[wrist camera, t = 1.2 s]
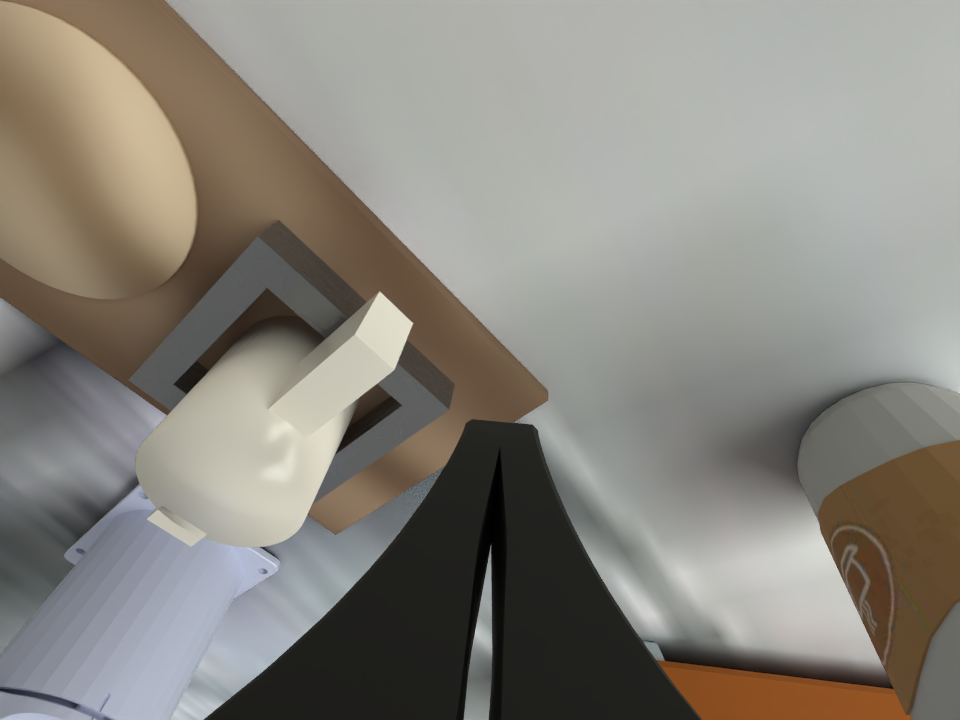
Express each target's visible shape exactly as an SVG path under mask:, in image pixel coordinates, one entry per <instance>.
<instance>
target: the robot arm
mask: <svg viewBox="0 0 960 720" xmlns="http://www.w3.org/2000/svg"><path fill="white" fill-rule="evenodd" d="M155 508H156V507H155V506H154V505H153V503H152V502H151V501H150V500H149V499H148V497H147V496H146V494H145V493H144V491H143V489H142V487H141V485H140V484H138V485H137V486H136V487H135V488H134V489H133V490H132V491H131V492H130V493H129V494H128V495H127V496H125V497H124V498H123V499H122V500H121V501H120V502H119V503H118V504H117V505H116V506H115V507H113V508H112V509H111V510H110V511H109V512H108V513H107V514H106V515H105V516H104V517H103V518H102V519H100V520H99V521H98V522H97V523H96V524H95V525H94V526H93V527H92V528H91V529H90V530H89V531H87V532H86V533H85V534H84V535H83V536H82V537H81V538H80V539H79V540H78V541H77V542H76V543H74V544H73V545H72V546H71V547H70V548H69V549H68V550H67V551H66V552H65V554H64V556H65V558H66V560H67V561H69V562H71V563H72V564H74V565H75V566H74V567H73V568H72V569H71V571H70V572H69V573H68V574H67V575H66V577H65V578H64V579H63V580H62V581H61V583H60V584H59V585H58V586H57V587H56V588H55V590H54V591H53V592H52V593H51V594H50V596H49V597H48V598H47V599H46V600H45V601H44V603H43V604H42V605H41V606H40V607H39V609H38V610H37V611H36V612H35V613H34V614H33V616H32V617H31V618H30V619H29V620H28V622H27V623H26V624H25V625H24V626H23V627H22V629H21V630H20V631H19V632H18V633H17V635H16V636H15V637H14V638H13V639H12V640H11V642H10V643H9V644H8V645H7V646H6V648H5V649H4V650H3V651H2V652H1V653H0V720H170V719H171V717H172V715H173V713H174V711H175V709H176V707H177V706H178V704H179V702H180V700H181V698H182V696H183V694H184V692H185V690H186V688H187V686H188V684H189V683H190V681H191V679H192V677H193V675H194V673H195V671H196V669H197V667H198V665H199V663H200V661H201V660H202V658H203V656H204V654H205V652H206V650H207V648H208V646H209V644H210V642H211V640H212V638H213V637H214V635H215V633H216V631H217V629H218V627H219V625H220V623H221V621H222V619H223V617H224V615H225V614H226V612H227V610H228V608H229V606H230V604H231V602H232V600H233V599H234V598H236V597H237V596H239V595H241V594H242V593H244V592H245V591H247V590H249V589H250V588H252V587H253V586H255V585H256V584H258V583H260V582H261V581H263V580H264V579H266V578H267V577H269V576H271V575H272V574H274V573H275V572H277V570H278V569H279V566H280V562H279V560H278V559H277V558H275V557H274V556H272V555H271V554H269V553H268V552H266V551H265V550H263V549H262V548H260V547H237V546H230V545H225V544H221V543H217V542H214V541H211V540H207V539H205V538H202V539H201V540H199V541H198V542H197V543H195V544H194V545H193V546H191V547H190V546H189V545H187V544H186V543H184V542H182V541H181V540H179V539H178V538H176V537H174V536H173V535H171V534H170V533H168V532H166V531H165V530H163V529H161V528H160V527H158V526H157V525H155V524H153V523H152V522H150V521H149V520H147V518H148V517H149V515H150V514H151V513H152V512H153V510H154V509H155ZM490 546H491V563H492V651H493V653H492V683H491V697H490V711H489V720H702V719H701V717H700V716H699V715H698V714H697V713H696V711H695V710H694V709H693V708H692V706H691V705H690V704H689V703H688V701H687V700H686V699H685V698H684V696H683V695H682V694H681V693H680V691H679V690H678V689H677V688H676V686H675V685H674V684H673V682H672V681H671V679H670V678H669V677H668V675H667V674H666V673H665V671H664V670H663V669H662V667H661V666H660V665H659V663H658V662H657V660H656V659H655V658H654V656H653V655H652V654H651V652H650V651H649V650H648V648H647V647H646V645H645V644H644V643H643V641H642V640H641V639H640V637H639V636H638V635H637V633H636V632H635V630H634V629H633V627H632V626H631V624H630V623H629V621H628V620H627V618H626V617H625V615H624V614H623V612H622V611H621V609H620V608H619V606H618V605H617V603H616V602H615V600H614V598H613V597H612V595H611V593H610V592H609V590H608V589H607V587H606V585H605V584H604V582H603V580H602V579H601V577H600V575H599V574H598V572H597V570H596V568H595V567H594V565H593V563H592V561H591V560H590V558H589V556H588V554H587V552H586V550H585V549H584V547H583V545H582V543H581V541H580V539H579V537H578V535H577V533H576V531H575V529H574V527H573V525H572V523H571V521H570V519H569V517H568V515H567V512H566V510H565V508H564V506H563V503H562V501H561V499H560V496H559V494H558V492H557V490H556V487H555V485H554V482H553V480H552V477H551V475H550V472H549V469H548V466H547V463H546V461H545V457H544V454H543V451H542V448H541V444H540V440H539V436H538V430H537V429H536V428H535V427H534V426H533V425H529V424H518V423H508V422H497V421H486V420H476V419H471V420H470V421H468V422H467V423H466V424H465V427H464V430H463V432H462V435H461V437H460V439H459V441H458V443H457V445H456V447H455V449H454V451H453V453H452V455H451V457H450V459H449V460H448V462H447V464H446V466H445V467H444V469H443V471H442V472H441V474H440V475H439V477H438V479H437V480H436V482H435V483H434V485H433V487H432V488H431V490H430V491H429V493H428V494H427V496H426V497H425V499H424V500H423V502H422V503H421V504H420V506H419V507H418V508H417V510H416V511H415V513H414V514H413V515H412V517H411V518H410V520H409V521H408V522H407V524H406V525H405V526H404V528H403V529H402V530H401V532H400V533H399V534H398V535H397V537H396V538H395V539H394V540H393V542H392V543H391V544H390V545H389V547H388V548H387V549H386V550H385V551H384V553H383V554H382V555H381V556H380V557H379V558H378V560H377V561H376V562H375V563H374V564H373V565H372V567H371V568H370V569H369V570H368V571H367V572H366V573H365V574H364V575H363V576H362V578H361V579H360V580H359V581H358V582H357V583H356V584H355V585H354V586H353V587H352V588H351V589H350V590H349V591H348V592H347V593H346V595H345V596H344V597H343V598H342V599H341V600H340V601H339V602H338V603H337V604H336V605H335V606H334V607H333V608H332V609H331V610H330V611H329V612H328V613H327V614H326V615H325V616H324V617H323V618H322V619H321V620H320V621H319V622H317V623H316V624H315V625H314V626H313V627H312V628H311V629H310V630H309V631H308V632H306V633H305V634H304V635H303V636H302V637H301V638H300V639H299V640H298V641H297V642H296V643H294V644H293V645H292V646H291V647H290V648H289V649H288V650H287V651H286V652H285V653H284V654H282V655H281V656H280V657H279V658H278V659H277V660H276V661H275V662H274V663H272V664H271V665H270V666H269V667H268V668H267V669H265V670H264V671H263V672H262V673H261V674H260V675H258V676H257V677H256V678H255V679H253V680H252V681H251V682H250V683H248V684H247V685H246V686H245V687H244V688H242V689H241V690H240V691H239V692H237V693H236V694H235V695H234V696H232V697H231V698H230V699H229V700H227V701H226V702H225V703H224V704H222V705H221V706H220V707H219V708H218V709H216V710H215V711H214V712H213V713H211V714H210V715H209V716H208V717H206V718H205V719H204V720H463V719H464V709H465V699H466V689H467V679H468V671H469V664H470V657H471V650H472V645H473V639H474V634H475V628H476V623H477V617H478V612H479V606H480V601H481V596H482V590H483V585H484V579H485V574H486V568H487V563H488V557H489V552H490Z"/></svg>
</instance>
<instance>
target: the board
mask: <svg viewBox="0 0 960 720" xmlns="http://www.w3.org/2000/svg"><path fill="white" fill-rule="evenodd" d="M1 1H8V2H15V3H20V4H24V5H27V6H31V7H34V8H38V9H41V10H43V11H45V12H48V13H50V14H52V15H55V16H57V17H59V18H62V19H64V20H65V21H67V22H69V23H71V24H72V25H74V26H76V27H78V28H80V29H81V30H83V31H85V32H86V33H87V34H89V35H90V36H92V37H93V38H94V39H96V40H97V41H99V42H100V43H102V44H103V45H104V46H105V47H107V48H108V49H109V50H110V51H111V52H112V53H114V54H115V55H116V56H117V57H118V58H119V59H121V60H122V61H123V62H124V63H125V64H126V65H127V66H128V67H129V68H130V69H131V70H132V71H133V72H134V73H135V74H136V76H137V77H138V78H139V79H140V80H141V81H142V82H143V83H144V85H145V86H146V87H147V88H148V90H149V91H150V92H151V93H152V94H153V96H154V97H155V98H156V99H157V101H158V103H159V104H160V106H161V107H162V109H163V110H164V112H165V113H166V115H167V116H168V118H169V119H170V121H171V123H172V125H173V126H174V128H175V130H176V132H177V134H178V136H179V138H180V140H181V142H182V144H183V147H184V149H185V152H186V154H187V156H188V159H189V162H190V165H191V169H192V172H193V175H194V179H195V185H196V190H197V196H198V224H197V232H196V236H195V240H194V244H193V247H192V249H191V251H190V253H189V255H188V258H187V259H186V261H185V262H184V264H183V265H182V266H181V268H180V269H179V270H178V271H177V272H176V273H175V274H174V275H173V276H172V277H171V278H170V279H169V280H167V281H166V282H164V283H163V284H161V285H160V286H158V287H157V288H155V289H153V290H151V291H149V292H147V293H144V294H142V295H138V296H134V297H130V298H123V299H96V298H89V297H83V296H79V295H75V294H71V293H67V292H64V291H61V290H59V289H56V288H53V287H50V286H48V285H46V284H44V283H42V282H40V281H37V280H35V279H33V278H31V277H30V276H28V275H26V274H24V273H23V272H21V271H19V270H17V269H16V268H14V267H13V266H11V265H10V264H8V263H7V262H5V261H4V260H2V259H1V258H0V297H1V298H2V299H4V300H5V301H7V302H8V303H9V304H11V305H12V306H14V307H15V308H16V309H18V310H19V311H21V312H22V313H24V314H25V315H26V316H28V317H29V318H31V319H32V320H33V321H35V322H36V323H38V324H39V325H40V326H42V327H43V328H45V329H46V330H47V331H49V332H50V333H52V334H53V335H55V336H56V337H57V338H59V339H60V340H62V341H63V342H64V343H66V344H67V345H69V346H70V347H71V348H73V349H74V350H76V351H77V352H79V353H80V354H81V355H83V356H84V357H86V358H87V359H88V360H90V361H91V362H93V363H94V364H95V365H97V366H98V367H100V368H101V369H102V370H104V371H105V372H107V373H108V374H110V375H111V376H112V377H114V378H115V379H117V380H118V381H119V382H121V383H122V384H124V385H125V386H126V387H128V388H129V389H131V390H132V391H134V392H135V393H136V394H138V395H139V396H141V397H142V398H143V399H145V400H146V401H148V402H149V403H150V404H152V405H153V406H155V407H156V408H157V409H159V410H160V411H162V412H163V413H165V414H166V415H168V414H169V413H170V412H171V410H169V409H168V408H166V407H165V406H164V405H162V404H161V403H159V402H158V401H157V400H155V399H154V398H152V397H151V396H150V395H148V394H147V393H145V392H144V391H143V390H141V389H140V388H138V387H137V386H136V385H134V384H133V383H132V382H130V381H129V379H130V378H131V377H132V376H133V374H134V373H135V372H136V371H137V370H138V369H139V368H140V367H141V366H142V364H143V363H144V362H145V361H146V360H147V359H148V358H149V357H150V356H151V354H152V353H153V352H154V351H155V350H156V349H157V348H158V347H159V346H160V344H161V343H162V342H163V341H164V340H165V339H166V338H167V337H168V336H169V334H170V333H171V332H172V331H173V330H174V329H175V328H176V327H177V326H178V324H179V323H180V322H181V321H182V320H183V319H184V318H185V317H186V316H187V314H188V313H189V312H190V311H191V310H192V309H193V308H194V307H195V306H196V304H197V303H198V302H199V301H200V300H201V299H202V298H203V297H204V296H205V294H206V293H207V292H208V291H209V290H210V289H211V288H212V287H213V286H214V284H215V283H216V282H217V281H218V280H219V279H220V278H221V277H222V276H223V274H224V273H225V272H226V271H227V270H228V269H229V268H230V267H231V266H232V264H233V263H234V262H235V261H236V260H237V259H238V258H239V257H240V255H241V254H242V253H243V252H244V251H245V250H246V249H247V248H248V247H249V245H250V244H251V243H252V242H253V241H254V240H255V239H256V238H257V237H258V236H259V235H260V234H261V233H263V232H264V231H265V230H267V229H268V228H269V227H270V226H272V225H273V224H274V223H276V222H277V221H278V220H280V221H281V222H282V223H283V224H284V225H285V226H286V227H287V228H288V229H289V230H290V231H292V232H293V233H294V234H295V235H296V236H297V237H298V238H299V239H300V240H301V241H302V242H303V243H304V244H305V245H306V246H308V247H309V248H310V249H311V250H312V251H313V252H314V253H315V254H316V255H317V256H318V257H319V258H320V259H321V260H323V261H324V262H325V263H326V264H327V265H328V266H329V267H330V268H331V269H332V270H333V271H334V272H335V273H336V274H338V275H339V276H340V277H341V278H342V279H343V280H344V281H345V282H346V283H347V284H348V285H349V286H350V287H351V288H352V289H354V290H355V291H356V292H357V293H358V294H359V295H360V296H361V297H362V298H363V299H364V300H365V301H366V302H368V301H369V300H370V299H371V298H372V297H374V296H375V295H376V294H377V293H378V292H379V291H380V292H381V293H382V294H383V295H384V296H385V297H386V298H387V299H388V300H389V301H390V302H391V303H392V304H393V305H395V306H396V307H397V308H398V309H399V310H400V311H401V312H402V313H403V314H404V315H405V316H406V317H407V318H408V319H409V320H410V321H411V322H412V323H413V325H412V327H411V330H410V332H409V335H408V337H407V340H408V341H409V342H410V343H411V344H412V345H413V346H415V347H416V348H417V349H418V350H419V351H420V352H421V353H422V354H423V355H424V356H425V357H426V358H427V359H428V360H430V361H431V362H432V363H433V364H434V365H435V366H436V367H437V368H438V369H439V370H440V371H441V372H442V373H443V374H445V375H446V376H447V377H448V378H449V379H450V380H451V381H452V382H453V383H454V384H455V386H454V391H453V396H452V400H451V405H450V409H449V411H447V412H446V413H444V414H443V415H441V416H440V417H438V418H437V419H436V420H434V421H433V422H431V423H430V424H428V425H427V426H425V427H424V428H423V429H421V430H420V431H418V432H417V433H415V434H414V435H412V436H411V437H409V438H408V439H407V440H405V441H404V442H402V443H401V444H399V445H398V446H396V447H395V448H394V449H392V450H391V451H389V452H388V453H386V454H385V455H383V456H382V457H381V458H379V459H378V460H376V461H375V462H373V463H372V464H370V465H369V466H367V467H366V468H365V469H363V470H362V471H360V472H359V473H357V474H356V475H354V476H353V477H352V478H350V479H349V480H347V481H346V482H344V483H343V484H341V485H340V486H339V487H337V488H336V489H334V490H333V491H331V492H330V493H328V494H327V495H326V496H324V497H323V498H321V499H320V500H318V501H317V502H315V503H314V504H312V505H311V508H310V510H309V512H308V514H307V515H308V516H310V517H311V518H313V519H314V520H315V521H317V522H318V523H320V524H321V525H322V526H324V527H325V528H327V529H328V530H329V531H331V532H332V533H334V534H335V535H336V534H338V533H339V532H341V531H343V530H344V529H346V528H347V527H349V526H350V525H352V524H354V523H355V522H357V521H358V520H360V519H362V518H363V517H365V516H366V515H368V514H369V513H371V512H373V511H374V510H376V509H377V508H379V507H380V506H382V505H384V504H385V503H387V502H388V501H390V500H392V499H393V498H395V497H396V496H398V495H399V494H401V493H403V492H404V491H406V490H407V489H409V488H410V487H412V486H414V485H415V484H417V483H418V482H420V481H422V480H423V479H425V478H426V477H428V476H429V475H431V474H433V473H434V472H436V471H437V470H439V469H441V468H442V467H444V466H445V465H446V464H447V462H448V460H449V459H450V457H451V455H452V453H453V451H454V449H455V447H456V445H457V443H458V441H459V439H460V437H461V435H462V432H463V430H464V427H465V424H466V423H467V422H468V421H470V420H471V419H476V420H486V421H497V422H508V423H513V422H515V421H516V420H518V419H519V418H521V417H523V416H524V415H526V414H527V413H529V412H531V411H532V410H534V409H535V408H537V407H538V406H540V405H542V404H543V403H545V402H546V401H548V391H547V390H546V389H545V388H544V387H543V386H542V385H541V384H540V383H539V382H538V380H537V379H536V378H535V377H534V376H533V375H532V374H531V373H530V372H529V371H528V370H527V369H526V368H525V367H524V366H523V365H522V364H521V363H520V362H519V361H518V360H517V359H516V358H515V357H514V356H513V355H512V354H511V353H510V352H509V351H508V350H507V349H506V348H505V347H504V346H503V345H502V344H501V343H500V342H499V341H498V340H497V339H496V338H495V337H494V336H493V335H492V334H491V333H490V332H489V331H488V330H487V329H486V328H485V326H484V325H483V324H482V323H481V322H480V321H479V320H478V319H477V318H476V317H475V316H474V315H473V314H472V313H471V312H470V311H469V310H468V309H467V308H466V307H465V306H464V305H463V304H462V303H461V302H460V301H459V300H458V299H457V298H456V297H455V296H454V295H453V294H452V293H451V292H450V291H449V290H448V289H447V288H446V287H445V286H444V285H443V284H442V283H441V282H440V281H439V280H438V279H437V278H436V277H435V276H434V275H433V273H432V272H431V271H430V270H429V269H428V268H427V267H426V266H425V265H424V264H423V263H422V262H421V261H420V260H419V259H418V258H417V257H416V256H415V255H414V254H413V253H412V252H411V251H410V250H409V249H408V248H407V247H406V246H405V245H404V244H403V243H402V242H401V241H400V240H399V239H398V238H397V237H396V236H395V235H394V234H393V233H392V232H391V231H390V230H389V229H388V228H387V227H386V226H385V225H384V224H383V223H382V222H381V221H380V219H379V218H378V217H377V216H376V215H375V214H374V213H373V212H372V211H371V210H370V209H369V208H368V207H367V206H366V205H365V204H364V203H363V202H362V201H361V200H360V199H359V198H358V197H357V196H356V195H355V194H354V193H353V192H352V191H351V190H350V189H349V188H348V187H347V186H346V185H345V184H344V183H343V182H342V181H341V180H340V179H339V178H338V177H337V176H336V175H335V174H334V173H333V172H332V171H331V170H330V169H329V168H328V167H327V165H326V164H325V163H324V162H323V161H322V160H321V159H320V158H319V157H318V156H317V155H316V154H315V153H314V152H313V151H312V150H311V149H310V148H309V147H308V146H307V145H306V144H305V143H304V142H303V141H302V140H301V139H300V138H299V137H298V136H297V135H296V134H295V133H294V132H293V131H292V130H291V129H290V128H289V127H288V126H287V125H286V124H285V123H284V122H283V121H282V120H281V119H280V118H279V117H278V116H277V115H276V114H275V113H274V111H273V110H272V109H271V108H270V107H269V106H268V105H267V104H266V103H265V102H264V101H263V100H262V99H261V98H260V97H259V96H258V95H257V94H256V93H255V92H254V91H253V90H252V89H251V88H250V87H249V86H248V85H247V84H246V83H245V82H244V81H243V80H242V79H241V78H240V77H239V76H238V75H237V74H236V73H235V72H234V71H233V70H232V69H231V68H230V67H229V66H228V65H227V64H226V63H225V62H224V61H223V60H222V59H221V57H220V56H219V55H218V54H217V53H216V52H215V51H214V50H213V49H212V48H211V47H210V46H209V45H208V44H207V43H206V42H205V41H204V40H203V39H202V38H201V37H200V36H199V35H198V34H197V33H196V32H195V31H194V30H193V29H192V28H191V27H190V26H189V25H188V24H187V23H186V22H185V21H184V20H183V19H182V18H181V17H180V16H179V15H178V14H177V13H176V12H175V11H174V10H173V9H172V8H171V7H170V6H169V5H168V3H167V2H166V1H165V0H1ZM282 315H288V316H298V317H300V316H299V315H298V314H297V313H295V312H294V311H293V310H292V309H291V308H290V307H289V306H287V305H286V304H285V303H284V302H283V301H282V300H280V299H279V298H278V297H277V296H276V295H275V294H274V293H272V292H271V291H270V290H269V289H268V288H267V289H266V290H265V291H264V292H263V293H262V294H261V295H260V296H259V297H258V298H257V299H256V300H255V301H254V302H253V303H252V304H251V305H250V306H249V307H248V309H247V310H246V311H245V312H244V313H243V314H242V315H241V316H240V317H239V318H238V319H237V320H236V321H235V322H234V323H233V324H232V325H231V326H230V327H229V328H228V329H227V330H226V331H225V332H224V333H223V334H222V335H221V336H220V337H219V338H218V339H217V340H216V341H215V342H214V343H213V344H212V345H211V347H210V348H209V349H208V350H207V351H206V352H205V353H204V354H203V355H202V356H201V357H200V358H199V359H198V360H197V362H199V363H200V364H201V365H202V366H204V367H205V368H206V369H208V370H210V369H211V368H212V367H213V366H214V365H215V364H216V363H217V362H218V361H219V360H220V359H221V357H222V356H223V355H224V354H225V353H226V352H227V351H228V350H229V349H230V348H231V347H232V346H233V345H234V343H235V342H236V341H237V340H238V339H239V338H240V337H241V336H242V335H243V334H244V333H245V332H246V331H247V330H248V329H249V328H250V327H251V326H252V325H253V324H255V323H257V322H259V321H261V320H263V319H266V318H269V317H273V316H282ZM390 396H391V395H390V394H388V393H387V392H386V391H385V390H384V389H383V388H382V387H380V386H379V385H378V384H376V385H375V386H373V387H372V388H371V389H369V390H368V391H367V392H366V393H364V394H363V395H362V397H361V399H360V401H359V403H358V406H357V408H356V410H355V412H354V414H353V416H352V419H351V421H350V423H349V425H348V427H347V428H349V427H350V426H351V425H353V424H354V423H355V422H356V421H358V420H359V419H360V418H362V417H363V416H364V415H366V414H367V413H368V412H370V411H371V410H372V409H374V408H375V407H376V406H378V405H379V404H380V403H382V402H383V401H384V400H386V399H387V398H388V397H390Z"/></svg>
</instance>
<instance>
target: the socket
mask: <svg viewBox="0 0 960 720" xmlns="http://www.w3.org/2000/svg"><path fill="white" fill-rule="evenodd" d="M267 288H268V289H269V290H270V291H271V292H272V293H274V294H275V295H276V296H277V297H278V298H279V299H280V300H282V301H283V302H284V303H285V304H286V305H287V306H289V307H290V308H291V309H292V310H293V311H294V312H295V313H297V314H298V315H299V316H300V317H301V318H302V319H303V320H305V321H306V322H307V323H308V324H309V325H310V326H312V327H313V328H314V329H315V330H316V331H317V332H318V333H320V334H321V335H322V336H323V337H324V338H325V339H326V338H327V337H329V336H330V335H331V334H332V333H333V332H334V331H335V330H336V329H338V328H339V327H340V326H341V325H342V324H343V323H344V322H345V321H347V320H348V319H349V318H350V317H351V316H352V315H353V314H354V313H356V312H357V311H358V310H359V309H360V308H361V307H362V306H363V305H365V304H366V303H367V302H366V301H365V300H364V299H363V298H362V297H361V296H360V295H359V294H358V293H357V292H356V291H355V290H354V289H352V288H351V287H350V286H349V285H348V284H347V283H346V282H345V281H344V280H343V279H342V278H341V277H340V276H339V275H338V274H336V273H335V272H334V271H333V270H332V269H331V268H330V267H329V266H328V265H327V264H326V263H325V262H324V261H323V260H321V259H320V258H319V257H318V256H317V255H316V254H315V253H314V252H313V251H312V250H311V249H310V248H309V247H308V246H306V245H305V244H304V243H303V242H302V241H301V240H300V239H299V238H298V237H297V236H296V235H295V234H294V233H293V232H292V231H290V230H289V229H288V228H287V227H286V226H285V225H284V224H283V223H282V222H281V221H280V220H278V221H277V222H276V223H274V224H273V225H272V226H270V227H269V228H268V229H267V230H265V231H264V232H263V233H261V234H260V235H259V236H258V237H257V238H256V239H255V240H254V241H253V242H252V243H251V244H250V245H249V247H248V248H247V249H246V250H245V251H244V252H243V253H242V254H241V255H240V257H239V258H238V259H237V260H236V261H235V262H234V263H233V264H232V266H231V267H230V268H229V269H228V270H227V271H226V272H225V273H224V274H223V276H222V277H221V278H220V279H219V280H218V281H217V282H216V283H215V284H214V286H213V287H212V288H211V289H210V290H209V291H208V292H207V293H206V294H205V296H204V297H203V298H202V299H201V300H200V301H199V302H198V303H197V304H196V306H195V307H194V308H193V309H192V310H191V311H190V312H189V313H188V314H187V316H186V317H185V318H184V319H183V320H182V321H181V322H180V323H179V324H178V326H177V327H176V328H175V329H174V330H173V331H172V332H171V333H170V334H169V336H168V337H167V338H166V339H165V340H164V341H163V342H162V343H161V344H160V346H159V347H158V348H157V349H156V350H155V351H154V352H153V353H152V354H151V356H150V357H149V358H148V359H147V360H146V361H145V362H144V363H143V364H142V366H141V367H140V368H139V369H138V370H137V371H136V372H135V373H134V374H133V376H132V377H131V378H130V379H129V381H130V382H132V383H133V384H134V385H136V386H137V387H138V388H140V389H141V390H143V391H144V392H145V393H147V394H148V395H150V396H151V397H152V398H154V399H155V400H157V401H158V402H159V403H161V404H162V405H164V406H165V407H166V408H168V409H169V410H171V411H172V410H173V409H174V408H175V407H176V406H177V405H178V404H179V402H180V401H181V400H182V399H183V398H184V397H185V396H186V395H187V394H188V393H189V392H190V391H191V390H192V389H193V387H194V386H195V385H196V384H197V383H198V382H199V381H200V380H201V379H202V378H203V377H204V376H205V375H206V374H207V372H208V371H209V370H208V369H206V368H205V367H204V366H202V365H201V364H200V363H199V362H197V360H198V359H199V358H200V357H201V356H202V355H203V354H204V353H205V352H206V351H207V350H208V349H209V348H210V347H211V345H212V344H213V343H214V342H215V341H216V340H217V339H218V338H219V337H220V336H221V335H222V334H223V333H224V332H225V331H226V330H227V329H228V328H229V327H230V326H231V325H232V324H233V323H234V322H235V321H236V320H237V319H238V318H239V317H240V316H241V315H242V314H243V313H244V312H245V311H246V310H247V309H248V307H249V306H250V305H251V304H252V303H253V302H254V301H255V300H256V299H257V298H258V297H259V296H260V295H261V294H262V293H263V292H264V291H265V290H266V289H267ZM377 384H378V385H379V386H380V387H382V388H383V389H384V390H385V391H386V392H387V393H388V394H390V395H391V396H390V397H388V398H387V399H386V400H384V401H383V402H382V403H380V404H379V405H378V406H376V407H375V408H374V409H372V410H371V411H370V412H368V413H367V414H366V415H364V416H363V417H362V418H360V419H359V420H358V421H356V422H355V423H354V424H353V425H351V426H350V427H349V428H347V429H346V432H345V434H344V436H343V438H342V440H341V442H340V445H339V447H338V449H337V451H336V453H335V455H334V458H333V460H332V462H331V464H330V466H329V468H328V471H327V473H326V475H325V477H324V479H323V482H322V484H321V486H320V488H319V490H318V492H317V495H316V497H315V499H314V501H313V503H312V504H314V503H315V502H317V501H318V500H320V499H321V498H323V497H324V496H326V495H327V494H328V493H330V492H331V491H333V490H334V489H336V488H337V487H339V486H340V485H341V484H343V483H344V482H346V481H347V480H349V479H350V478H352V477H353V476H354V475H356V474H357V473H359V472H360V471H362V470H363V469H365V468H366V467H367V466H369V465H370V464H372V463H373V462H375V461H376V460H378V459H379V458H381V457H382V456H383V455H385V454H386V453H388V452H389V451H391V450H392V449H394V448H395V447H396V446H398V445H399V444H401V443H402V442H404V441H405V440H407V439H408V438H409V437H411V436H412V435H414V434H415V433H417V432H418V431H420V430H421V429H423V428H424V427H425V426H427V425H428V424H430V423H431V422H433V421H434V420H436V419H437V418H438V417H440V416H441V415H443V414H444V413H446V412H447V411H449V409H450V405H451V400H452V396H453V391H454V386H455V384H454V383H453V382H452V381H451V380H450V379H449V378H448V377H447V376H446V375H445V374H443V373H442V372H441V371H440V370H439V369H438V368H437V367H436V366H435V365H434V364H433V363H432V362H431V361H430V360H428V359H427V358H426V357H425V356H424V355H423V354H422V353H421V352H420V351H419V350H418V349H417V348H416V347H415V346H413V345H412V344H411V343H410V342H409V341H408V340H406V342H405V345H404V347H403V350H402V352H401V355H400V357H399V360H398V362H397V365H396V367H395V370H394V371H392V372H391V373H390V374H389V375H387V376H386V377H385V378H384V379H382V380H381V381H380V382H378V383H377Z"/></svg>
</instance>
